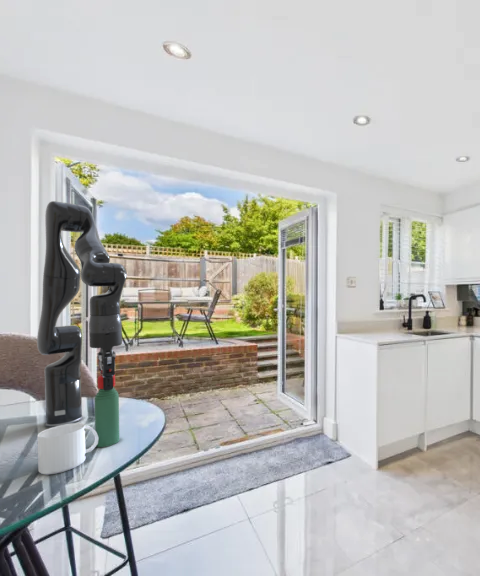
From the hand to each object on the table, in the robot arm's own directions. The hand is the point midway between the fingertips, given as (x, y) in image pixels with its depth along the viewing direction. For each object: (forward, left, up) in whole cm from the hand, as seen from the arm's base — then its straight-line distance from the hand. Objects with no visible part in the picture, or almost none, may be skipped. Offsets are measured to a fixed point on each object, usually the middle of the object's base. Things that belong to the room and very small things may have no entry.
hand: (107, 387), depth 103 cm
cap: (0, 0, 0) cm, 0 cm away
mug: (+8, -9, -17) cm, 20 cm away
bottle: (-1, 0, -16) cm, 16 cm away
